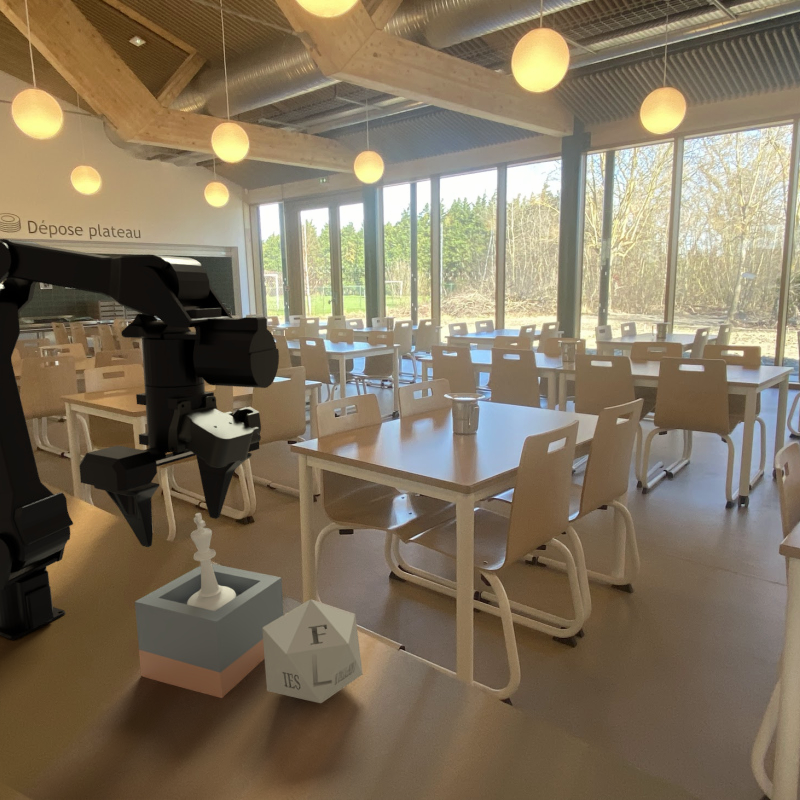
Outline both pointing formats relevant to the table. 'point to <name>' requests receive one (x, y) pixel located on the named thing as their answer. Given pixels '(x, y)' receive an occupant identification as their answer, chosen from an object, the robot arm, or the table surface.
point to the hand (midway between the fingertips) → (182, 531)
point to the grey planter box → (206, 630)
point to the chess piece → (207, 572)
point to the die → (311, 652)
